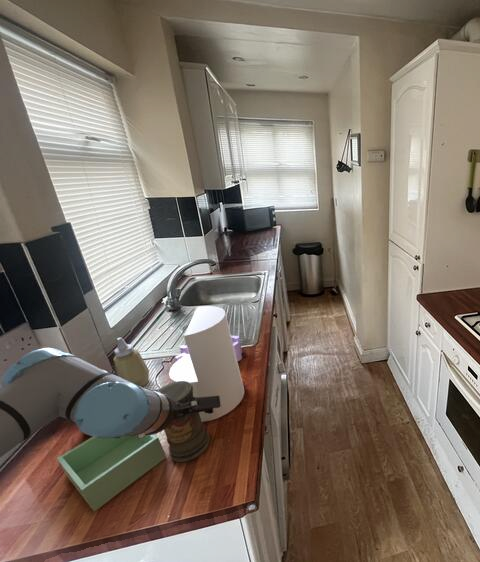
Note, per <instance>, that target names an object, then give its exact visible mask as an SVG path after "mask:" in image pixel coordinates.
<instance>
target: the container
mask: <svg viewBox="0 0 480 562" xmlns="http://www.w3.org/2000/svg"><path fill="white" fill-rule="evenodd" d="M156 391H157V392H160V393H163V394H166V395H168V396H170V397H171V398H172V399H173V400H174V402H177V401H185V402H188V400H189V398H191V397H193V387H192V385H191V384H190V383H189V382H186V381H178V382H174V383H172V382H170V383H168V384H166V385H164V386H162V387H160V388H158V390H156ZM177 416H179V415H177ZM163 431H164V434H165V436H166V442H167V444H168V452H169V456H170V458H171V459H172V460H173V461H174V462H176V463H181V464H182V463H189V462H191V461H193V460H196V459H197V458H199V457H200V456H201V455H202V454H204V453H205V452H206V451H207V449H208V447H209V445H210V442H211V436H210V434H209V432H208V430H207V429H206V428H205V424H204V422H202V421H201V418H200V415H199V412H198V413H193V414H189V415H186V416H185V417H183V418H181V419H176V420H173V421H172V422H171V423H170V425H169V426H168V427H167V428H165V429H164V430H163Z"/></svg>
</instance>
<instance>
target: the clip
mask: <svg viewBox="0 0 480 562" xmlns="http://www.w3.org/2000/svg"><path fill="white" fill-rule="evenodd" d="M231 338H232V342H233V346H234V350H235V354H236V358H237V362H238V363H239V362H240V361H241V360H242V359H243V356H242V354H243V352H244V351H243V348H242V344H241V339H240V336H238V335H231ZM179 350H180V354H177V355H175V357H174V358H175V362H177V361H178V360H179V359H180V358H182V357H183V356H185V355H187V354H189V351H188V348H187V345H184V344H182V345H180V346H179Z"/></svg>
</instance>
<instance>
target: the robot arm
mask: <svg viewBox="0 0 480 562" xmlns="http://www.w3.org/2000/svg"><path fill="white" fill-rule="evenodd" d="M103 370H104V369H102V368H99V367H97V366H96V365H93V364H91V363H89V362H87V361H85V360H83V359H82V358H81V357H79V356H77V355H74V354H72V353H69V352H66V351H63V350H60V349H57V348H53V347H42V348H39V349H34V350H32V351H30V352H28V353H26V354H24V355H22V356H21V357H20V359H19V360H18V361H17V362H16V363H15V362H14V363H13V364H11V365H10V366H9V367H8V368H7V369H6V371H5V372H4V374H3V376H2V378H1V387H0V458H2V457H3V456H4V455H6V454H8V453H9V452H10V451H11V450H13V449H14V448H16V447H17V446H18V445H20V444H21V443H23V442H25V441H26V440H28V439H29V438H30V437H32V436H33V435H34V434H36V433H37V432H39V431H40V430H42V429H43V428H45V427H46V426H47V425H48V424H51V422H53V421H54V420H56V419H57V418H59V417H61V418H63V419H66V420H69V421H70V422H72V423H73V422H74V423H75V424H76V427H77V428H78V429H79V431H80V432H82V433H83V434H85V435H87V436H90V437H93V436H95V437H99V438H107V437H108V438H120V437H122V436H138V438H139V439H141V438H144V437H145V435H154V434H155V435H157V434H159V433H161V432H163V431H164V429H165V428H167V427H168V426H169V425H170V423H171V422H172V421H173V420H176V419H181V418H183V417H185V416H186V415H189V414H193V413H198V412H203V411H204V413H208V414H211V413H213V408H219V407H220V406H221V405H220V397H219V396H210V397H191V398H189V400H188V402H185V401H177V402H174V400H173V399H172V398H171V397H170V396H168V395H166V394H163V393H160V392H157V391H158V390H152V389H148V388H146V387H144V386H143V387H140V386H137V385H135V384H133V383H131V382H129V381H127V380H124V379H122V378H120V377H118V375H117V374H116V375H115V374H114V373H110V372H108V371H107V372H108V373H107V372H105V371H103ZM177 415H179V416H177Z"/></svg>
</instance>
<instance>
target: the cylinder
mask: <svg viewBox="0 0 480 562" xmlns="http://www.w3.org/2000/svg"><path fill="white" fill-rule="evenodd" d="M229 325H230V324H229V321H228V318H227V314H226V311H225V309H224V308H222V307H220V306H214V305H202V306H196V309H195V310H194V313H193V315H192V317H191V320H190V322H189V324H188V326H187V328H186V330H185V332H184V334H183V338H184V342H185V344H186V345H187V348H188V351H189V354H187V355H185V356H183V357H182V358H180V359H179V360H178V361H175V362H174V364H172V366H171V367H170V368H169V371H168V375H169V378H170V381H171V383H174V382H178V381H186V382H189V383H190V384H191V385H192V387H193V397H210V396H219V397H220V405H221V406H220V407H219V408H213V413H211V414H208V413H204V411H203V412H199V415H200V418H201V421H202V422H203V423H205V422H209V421H213V420H216V419H220V418H221V417H223V416H225V415H227V414H228V413H230V412H231V411H233V410H234V409H235V408H237V406H238V405H239V404H240V403H241V402H242V400H243V399H244V396H245V388H244V387H245V386H244V382H243V379H242V375H241V371H240V367H239V361H238V362H237V358H236V354H235V350H234V346H233V342H232V338H231V336H232V334H231V330H230V326H229ZM186 345H185V346H186Z"/></svg>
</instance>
